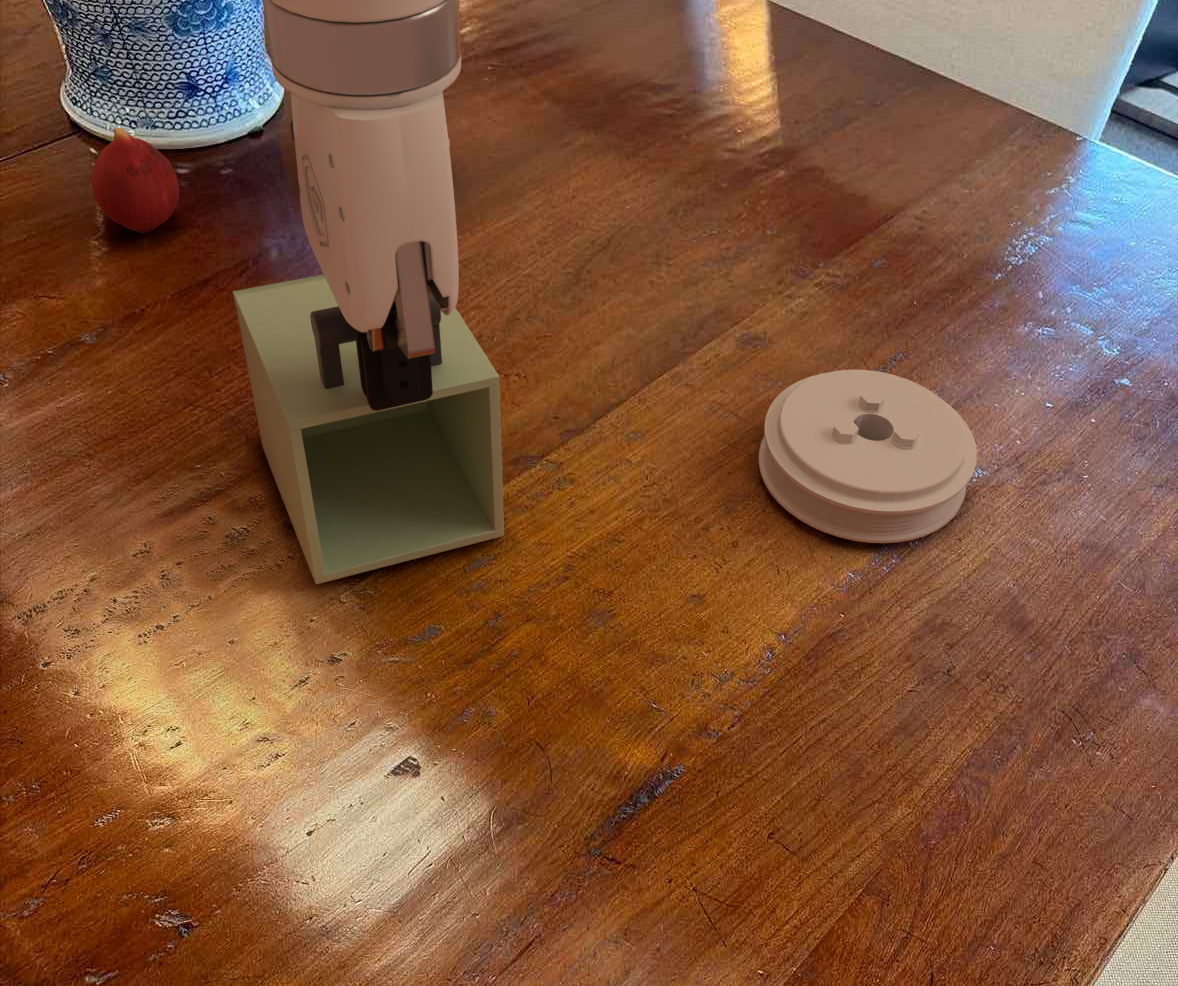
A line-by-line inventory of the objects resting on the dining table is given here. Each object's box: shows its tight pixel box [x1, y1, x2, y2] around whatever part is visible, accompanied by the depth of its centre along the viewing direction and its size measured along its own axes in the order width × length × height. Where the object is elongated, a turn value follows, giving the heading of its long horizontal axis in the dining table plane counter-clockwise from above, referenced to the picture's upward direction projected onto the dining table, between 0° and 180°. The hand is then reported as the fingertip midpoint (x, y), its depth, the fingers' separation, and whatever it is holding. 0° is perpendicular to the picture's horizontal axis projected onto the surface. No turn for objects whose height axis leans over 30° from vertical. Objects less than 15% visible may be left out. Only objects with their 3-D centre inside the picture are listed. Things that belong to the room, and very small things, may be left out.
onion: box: [91, 127, 180, 234], centre depth 92 cm, size 6×6×8 cm
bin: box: [232, 273, 505, 585], centre depth 72 cm, size 13×11×15 cm
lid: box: [758, 369, 978, 544], centre depth 79 cm, size 13×13×5 cm
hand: (397, 395), depth 65 cm, fingers closed
